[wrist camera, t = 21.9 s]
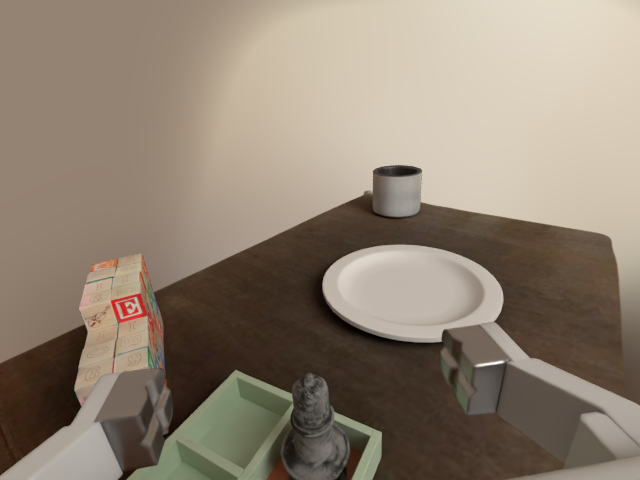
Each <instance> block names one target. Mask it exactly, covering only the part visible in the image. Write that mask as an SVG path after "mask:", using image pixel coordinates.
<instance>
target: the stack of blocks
mask: <svg viewBox="0 0 640 480" xmlns="http://www.w3.org/2000/svg"><path fill="white" fill-rule="evenodd" d="M82 296H83V297H82V299H81V303H80V307H79V310H80V313H81V315H82V318H83V321H84V323H85V326H86V329H87V331H88V334H87V338H86V342H85V346H84V349H83V351H82V355H81V359H80V363H79V367H78V370H79V371H78V375H77V379H76V383H75V387H74V391H75V393H76V395H77V398H78V400H79V402H80V404H81V406H82V405H83V404H84V402H85V400H86V399H87V397H88V395H89V394H90V392H91V390H92V389H93V387H94V386H95V384H96V382H97V381H98V379H99V378H100V377H101V376H102V375H104V374H108V373H117V372H123V371H132V370H141V369H150V368H159V367H160V368H162V369H163V370H164V372H165V361H164V347H163V346H164V335H163V321H162V318H161V315H160V311H159V308H158V306H157V303H156V300H155V297H154V293H153V288H152V285H151V281H150V278H149V275H148V272H147V268H146V265H145V262H144V258H143V255H142V254H137V255H132V256H127V257H123V258H119V259H114V260H109V261H105V262H101V263H96V264H93V265H92V267H91V271H90V273H89V274H88V277H87V281H86V285H85V287H84V291H83V295H82ZM165 375H166V374H165ZM164 386H166V387H167V385H166V381H165V384H164ZM168 432H169V429H168V428H167V429H166V430H165V431H164V432H163V433H162V434H163V435H164V434H167V433H168Z"/></svg>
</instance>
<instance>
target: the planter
mask: <svg viewBox="0 0 640 480" xmlns="http://www.w3.org/2000/svg"><path fill="white" fill-rule="evenodd" d="M421 180H422V170H421V169H420V168H417V167H413V166H402V165H398V166H397V165H395V166H384V167H380V168H377V169H375V170H374V171H373V211H374V212H375V213H377V214H378V215H381V216H384V217H389V218H405V217H410V216H413V215H415V214H416V213H418V212H419V211H420V202H421Z"/></svg>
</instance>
